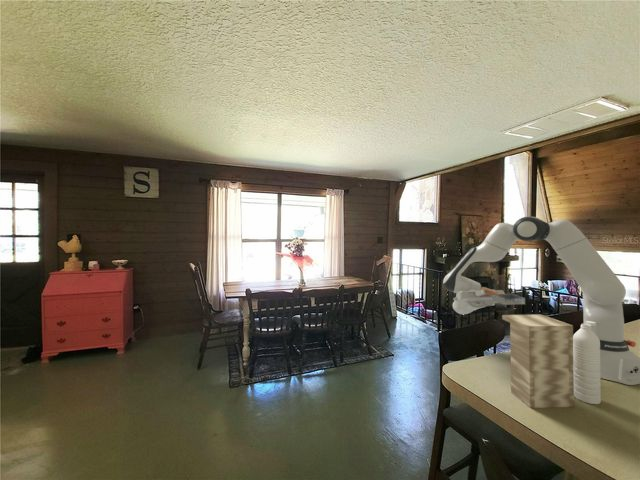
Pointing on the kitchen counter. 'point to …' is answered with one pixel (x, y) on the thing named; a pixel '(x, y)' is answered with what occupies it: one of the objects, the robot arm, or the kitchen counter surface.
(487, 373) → the kitchen counter surface
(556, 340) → the stand
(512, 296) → the shovel
